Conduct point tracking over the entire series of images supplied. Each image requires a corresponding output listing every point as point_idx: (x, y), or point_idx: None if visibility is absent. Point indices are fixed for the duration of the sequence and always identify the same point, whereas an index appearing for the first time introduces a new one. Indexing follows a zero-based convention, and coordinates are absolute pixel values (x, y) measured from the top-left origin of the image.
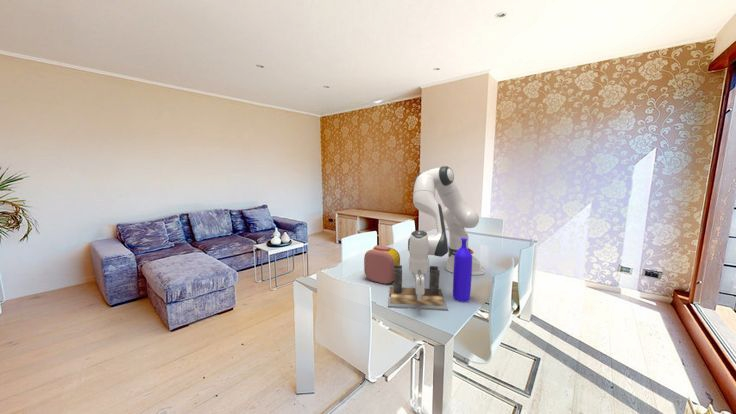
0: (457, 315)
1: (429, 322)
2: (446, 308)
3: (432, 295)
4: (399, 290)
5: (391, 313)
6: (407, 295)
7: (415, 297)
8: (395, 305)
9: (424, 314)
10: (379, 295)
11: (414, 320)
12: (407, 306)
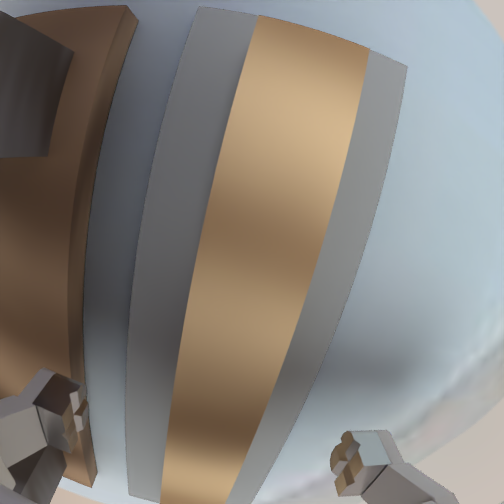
0: (469, 47)
1: (496, 320)
2: (397, 76)
3: (75, 133)
4: (52, 456)
5: (317, 499)
6: (175, 478)
7: (230, 437)
8: (245, 494)
9: (410, 334)
10: (94, 497)
11: (440, 407)
12: (277, 447)
